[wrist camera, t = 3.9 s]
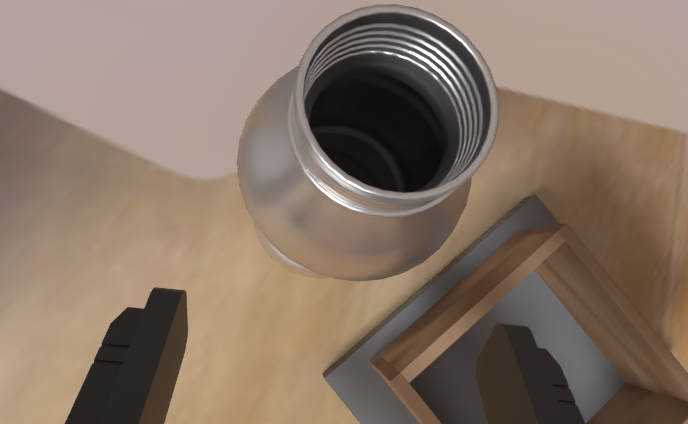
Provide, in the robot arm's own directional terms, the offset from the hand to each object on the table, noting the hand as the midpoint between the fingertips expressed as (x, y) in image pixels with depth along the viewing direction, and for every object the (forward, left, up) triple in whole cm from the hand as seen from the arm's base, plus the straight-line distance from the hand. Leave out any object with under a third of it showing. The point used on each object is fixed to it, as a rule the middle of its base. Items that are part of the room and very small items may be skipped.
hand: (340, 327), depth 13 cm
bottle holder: (+6, -10, -15) cm, 19 cm away
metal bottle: (+3, +3, -15) cm, 16 cm away
